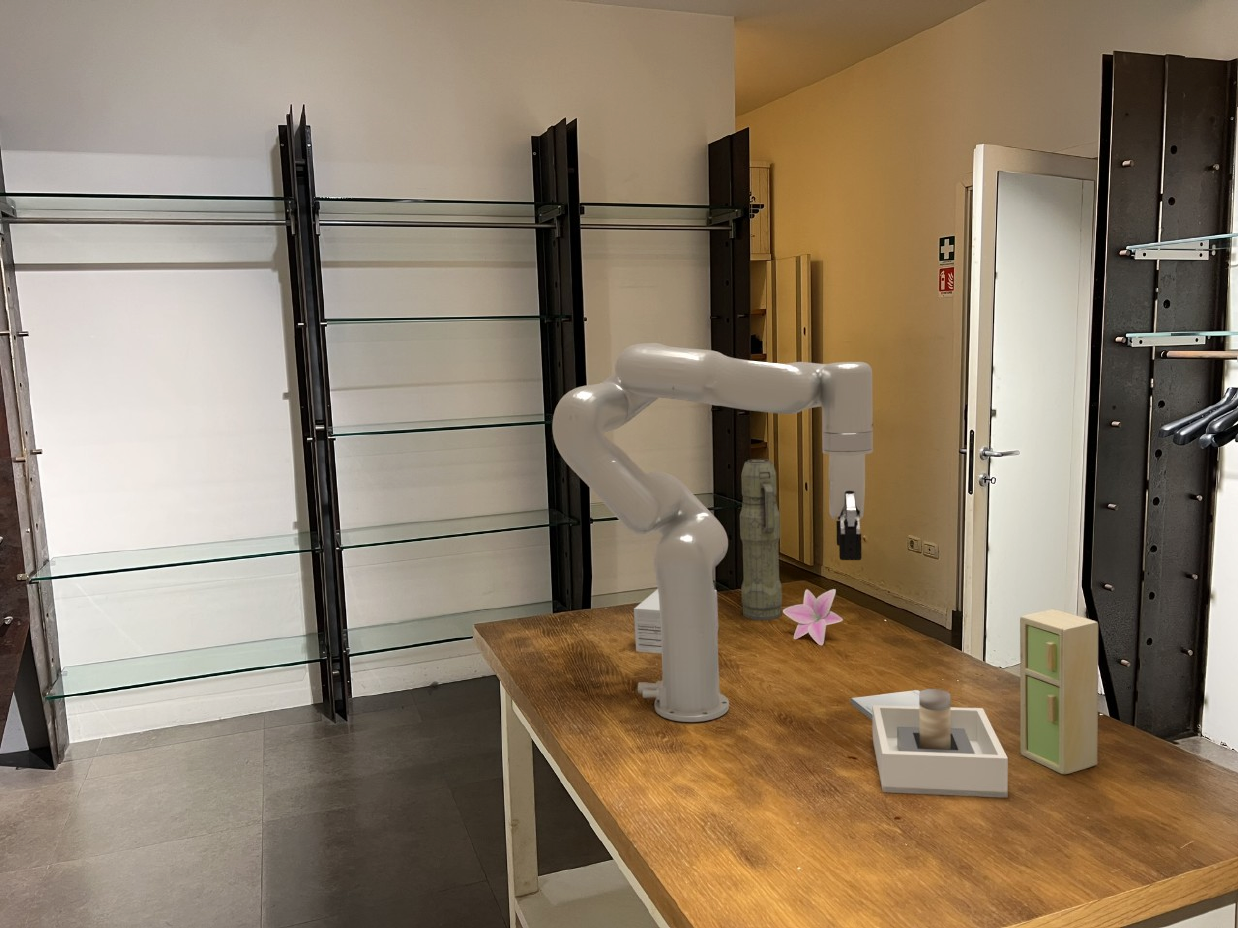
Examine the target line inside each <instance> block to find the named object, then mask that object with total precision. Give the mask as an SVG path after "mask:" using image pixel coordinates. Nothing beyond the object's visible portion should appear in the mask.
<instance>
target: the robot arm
mask: <svg viewBox="0 0 1238 928" xmlns="http://www.w3.org/2000/svg"><path fill="white" fill-rule="evenodd" d="M658 399H669V400H679V401H687V402H694V403H700V404H701V403H702V404H707V405H712V406H719V407H720V406H721V407H726V408H732V409H738V410H745V411H753V412H762V413H769V414H780V415H792V414H797V413H800V412H803V411H805V410H808V409H812V408H818V407H819V408H821V417H822V418H821V420H822V421H821V423H822V425H821V426H822V427H821V430H822V432H821V434H822V435H821V437H822V442H821V443H822V454H825V455H829V456H828V458H829V459H828V502H829V503H828V510H829V515H830V516H829V517H830V518H831V519H833V520H836V517H837V520H836V523H835V524H836V545H837V546H838V547H839V549H838V550H839V552H838V554H839V560H841V561H860V560H862V533H861V528H860V527H861V526H860V525H861V523H860V520H861V519H862V518H863V517H864V514H865V513H864V511H865V499H866V497H865V496H866V495H865V494H866V491H865V490H866V455H868V454H872V453H874V440H873V439H874V436H873V435H874V431H873V430H874V428H873V426H874V424H873V423H874V422H873V419H874V418H873V412H874V411H873V408H874V407H873V405H874V403H873V370H872V367H871V365H870V364H868V363H866V362H864V361H841V362H831V363H818V362H817V363H815V362H806V361H797V362H796V361H795V362H789V363H777V362H768V361H767V362H766V361H755V360H748V359H741V358H735V357H731V356H728V355H725V354H723V353H721V352H719V351H715V350H712V349H711V350H710V349H701V348H700V349H699V348H690V347H689V348H688V347H680V346H679V347H678V346H677V347H676V346H669V345H665V344H663V343H659V342H648V343H647V342H646V343H636V344H632V345H629V346H628V347H626V348H625V349H623V350H622V351H621V352H620V354H619V355H618V357H617V359H616V360H615V365H614V373H612V374H611V375H610V376H609V377H607V378H606V379H605V380H604V381H602V382H601V383H595V384H587V385H583V386H578V387H575V388H573V389H572V390H569V391H568V392H567V393H565V394H564V395H563V396H562V397H561V398H560V400H559V402H557V403H558V404H557V405H556V407H555V409H554V413H553V416H552V418H553V419H552V425H551V426H552V427H551V428H552V435H553V440H554V441H553V442H554V444H555V446H556V449H557V450H558V453H559V454H560V456H561V457H562V459H563V460H564V461H565V463H566V464H567V465H568V466H569V468H570V469H571V470H572V471H573V472H574V473H576V475H577V476H578V477H579V478H580V479H581V480H582V481H583V482H584V483H585V484H586V485H587V487H589V488H590V490H591V491H592V492H593V493H594V494H595V495H596V497H597V498H598V499H599V500H600V501H601V502H602V503H603V504H604V505H605V506H606V508H608V509H609V511H610V512H611V513H612V515H613V516H615V517H616V518H617V519H618V520H619V522H621V524H622V525H623V526H624V527H625V528H626V529H627V530H628V531H630V532H632V533H635V534H638V535H647V534H651V533H653V532H655V531H657V532H658V533H659V534H660V535H661V538H660V539H659V541H658V542H657V544H656V546H655V549H654V554H653V555H654V556H653V567H654V568H653V569H654V575H655V580H656V586H657V589H658V593H659V606H660V623H661V648H662V653H661V667H662V670H661V671H662V679H661V680H656V682H645V681H644V682H643V681H642V682H638V684H637V693H638V694H642V698H644V699H652V698H653V699H654V698H655V701H654V711H655V712H656V713H657V714H658V715H660V717H662V718H664V719H667V720H670V721H676V722H681V723H700V722H707V721H711V720H715V719H718V718H720V717H722V716H724V715H725V714H726V713H727V712H728V711H729V708H730V701H729V698H728V697H726V696H725V694H723V693H721V692H720V674H719V673H720V672H719V670H720V669H719V668H720V667H719V645H718V644H719V641H718V640H719V639H718V638H719V637H718V636H719V635H718V631H717V609H718V608H717V609H716V596H715V590H716V589H715V585H714V582H713V581H714V580H713V569H715V568H716V567H717V566H718V565H719V564H720V563H721V561H723V559H724V558H725V556H726V554H727V552H728V549H729V548H728V547H729V538H728V535H727V532H726V530H725V528H724V526H723V525H722V524H721V522H720V521H719V520H718V518H717V517H716V516H715V515H714V514H713V513H711V511H710V510H709V509H708V508H707V507H706V506H705V505H704V504H703V503H702V502H701V501H700V500H699V499H698V498H697V496H696V495H694V493H693V492H692V491H691V490H689V488H688V487H687V486H686V485H685V483H683V482H682V481H681V480H679V479H678V478H677V477H675V476H674V475H672V474H669V473H667V472H665V471H650V472H647V473H646V472H645V471H644V470H643V469H642V468H641V467H639V466H638V464H637V463H636V462H634V460H632V458H631V457H630V456H629V455H628V454H627V453H626V452H625V451H624V450H623V449H622V448H621V447H620V446H618V445H617V444H616V443H614V442H612V440H610V438H608V437H607V436H606V434H605V433H608V432H611V431H615V430H617V429H619V428H621V427H622V426H624V425H626V424H627V423H628V422H630V421H631V420H632V419H634V418H635V417H637V416H638V415H639V414H640V413H641V412H643V411H644V410H645V409H647V407H649V406H650V405H652V404H653V403H654V402H656V401H657V400H658Z"/></svg>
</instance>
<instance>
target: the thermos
mask: <svg viewBox="0 0 1238 928" xmlns="http://www.w3.org/2000/svg"><path fill="white" fill-rule="evenodd" d="M740 476H741V496H742V502H741V506H742V507H741V510H740V513H739V531H740V532H739V535H740V536H739V537H740V540H741V542H742V562H743V563H742V566H743V567H742V568H743V569H742V570H743V572H742V573H743V581H742V583H741V604H742V615H743V617H744V618H747V619H749V620H754V621H771V620H776V619H779V618H780V617H782V613H783V610H782V604H783V591H782V589H783V588H782V587H783V586H782V585H783V584H782V582H781V581H780V564H779V563H780V562H779V561H780V560H779V558H780V557H779V556H780V555H779V541H780V538H781V515H780V511H779V509H778V504H777V503H778V501H777V493H778V492H777V472H776V469H775V466H774V464H773V461H771V460H769V459H766V458H756V459H755V458H754V459H753V458H752V459H748V460H747V461H744V464H743V467H742V471H741V474H740Z"/></svg>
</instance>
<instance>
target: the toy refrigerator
mask: <svg viewBox="0 0 1238 928" xmlns="http://www.w3.org/2000/svg"><path fill="white" fill-rule="evenodd" d="M1019 660H1020V665H1019V666H1020V667H1019V668H1020V670H1019V671H1020V673H1019V675H1020V676H1019V677H1020V679H1019V680H1020V681H1019V684H1020V685H1019V686H1020V687H1019V688H1020V689H1019V690H1020V694H1019V695H1020V700H1019V702H1020V703H1019V707H1020V708H1019V709H1020V710H1019V711H1020V712H1019V713H1020V721H1019V722H1020V724H1019V725H1020V727H1019V728H1020V729H1019V732H1020V733H1019V734H1020V736H1019V737H1020V738H1019V739H1020V742H1019V743H1020V744H1019V745H1020V755H1022V756H1023V757H1025V758H1027V759H1029V760H1031V761H1033V762H1036V763H1038V764H1040V765H1041V766H1045V767H1047V768H1048V769H1050V770H1053V771H1055V772H1057V773H1058V774H1061V775H1068V774H1073V773H1076V772H1078V771H1082V770H1085V769H1088V768H1091V767H1094V766H1097V765H1098V725H1099V724H1098V720H1099V719H1098V715H1099V713H1098V711H1099V710H1098V709H1099V708H1098V704H1099V702H1098V701H1099V699H1098V698H1099V696H1098V694H1099V691H1098V690H1099V689H1098V688H1099V686H1098V685H1099V623H1098V621H1096V620H1092V619H1090V618H1087V617H1082V616H1080V615H1075V614H1073V613H1069V612H1065V611H1061V610H1059V609H1053V608H1051V609H1047V610H1042V611H1037V612H1033V613H1027V614H1025V615H1021V616H1020V618H1019Z"/></svg>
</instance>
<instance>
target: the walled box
mask: <svg viewBox="0 0 1238 928" xmlns="http://www.w3.org/2000/svg"><path fill="white" fill-rule="evenodd" d="M872 710H873V721H872V742H873V748H874V754H875V759H876V764H877V769H878V774H879V779H880V785H881V789H882V790H881V791H882V793H893V794H895V793H897V794H915V795H916V794H917V795H939V796H958V797H959V796H961V797H962V796H963V797H979V798H980V797H985V798H1001V799H1003V798H1006V799H1008V787H1009V786H1008V778H1009V777H1008V776H1009V775H1008V774H1009V768H1008V765H1009V764H1008V763H1009V760H1008V759H1009V758H1008V756H1007V754H1006V752H1005V750H1004V748H1003V746H1002V744H1001V742H1000V740H999V737H998V736H997V734H996V732H995V730H994V728H993V726H992V724H991V722H990V720H989V718H988V716H987V714H986V711H985V710H984V708H983V707H979V708H978V707H955V706H953V707H951V750H937V749H920V728H919V706H884V705H872Z"/></svg>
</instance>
